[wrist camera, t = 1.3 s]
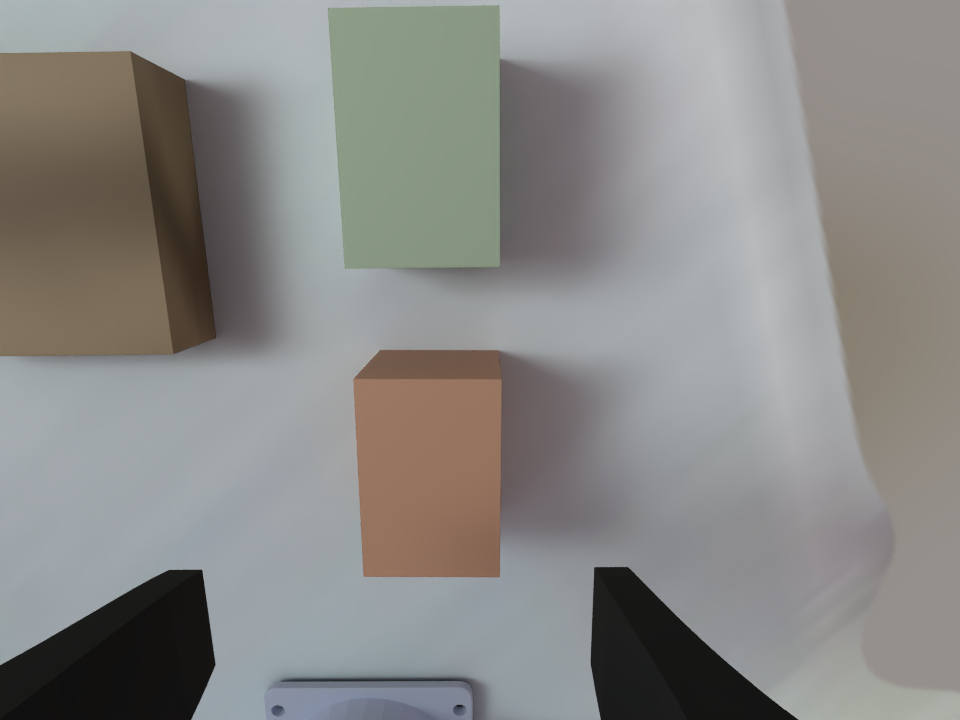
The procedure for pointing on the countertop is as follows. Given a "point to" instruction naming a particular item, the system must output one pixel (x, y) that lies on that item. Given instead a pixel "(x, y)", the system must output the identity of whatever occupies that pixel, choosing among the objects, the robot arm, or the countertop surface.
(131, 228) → the walnut slab
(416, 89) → the sage brick
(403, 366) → the terracotta brick
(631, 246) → the countertop surface
